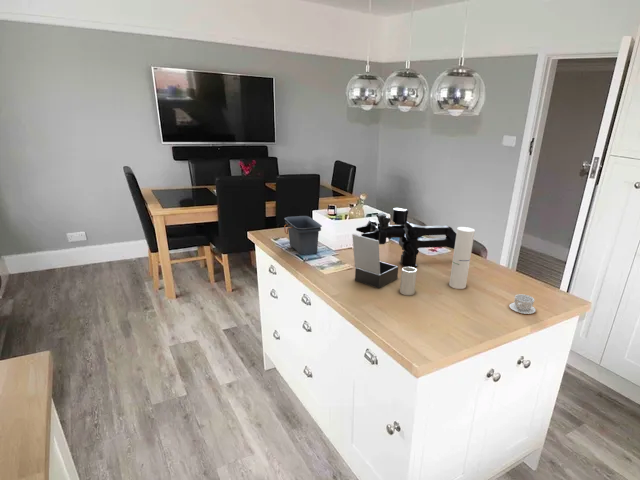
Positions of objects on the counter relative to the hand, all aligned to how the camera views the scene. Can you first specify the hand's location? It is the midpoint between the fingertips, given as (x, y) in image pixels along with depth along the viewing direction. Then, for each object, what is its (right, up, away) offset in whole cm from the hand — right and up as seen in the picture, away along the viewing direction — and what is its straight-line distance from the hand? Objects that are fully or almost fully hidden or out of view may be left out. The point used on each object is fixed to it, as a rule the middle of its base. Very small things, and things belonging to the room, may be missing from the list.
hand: (358, 232), depth 185 cm
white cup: (+21, -27, -15) cm, 37 cm away
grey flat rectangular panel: (+5, -12, -17) cm, 21 cm away
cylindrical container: (+43, -24, -5) cm, 50 cm away
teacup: (+65, -34, -22) cm, 77 cm away
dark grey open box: (+8, -21, -5) cm, 23 cm away
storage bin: (-31, -5, +24) cm, 39 cm away
